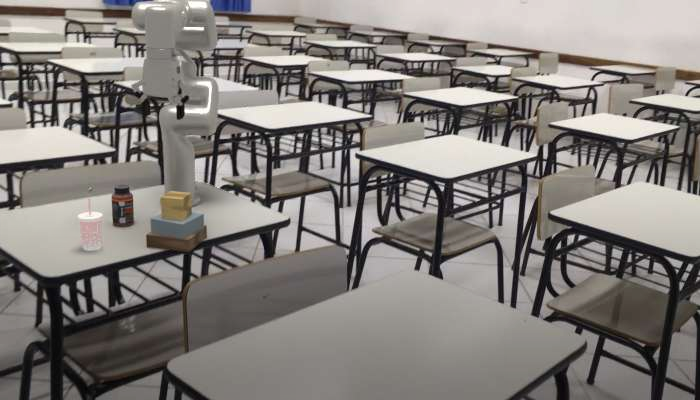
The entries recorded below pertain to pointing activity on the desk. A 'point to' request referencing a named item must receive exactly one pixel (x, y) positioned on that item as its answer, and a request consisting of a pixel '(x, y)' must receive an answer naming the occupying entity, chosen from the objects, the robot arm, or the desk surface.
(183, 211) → the ochre cube
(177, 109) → the robot arm
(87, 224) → the beverage cup
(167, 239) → the tower base
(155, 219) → the tower top
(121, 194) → the supplement bottle
